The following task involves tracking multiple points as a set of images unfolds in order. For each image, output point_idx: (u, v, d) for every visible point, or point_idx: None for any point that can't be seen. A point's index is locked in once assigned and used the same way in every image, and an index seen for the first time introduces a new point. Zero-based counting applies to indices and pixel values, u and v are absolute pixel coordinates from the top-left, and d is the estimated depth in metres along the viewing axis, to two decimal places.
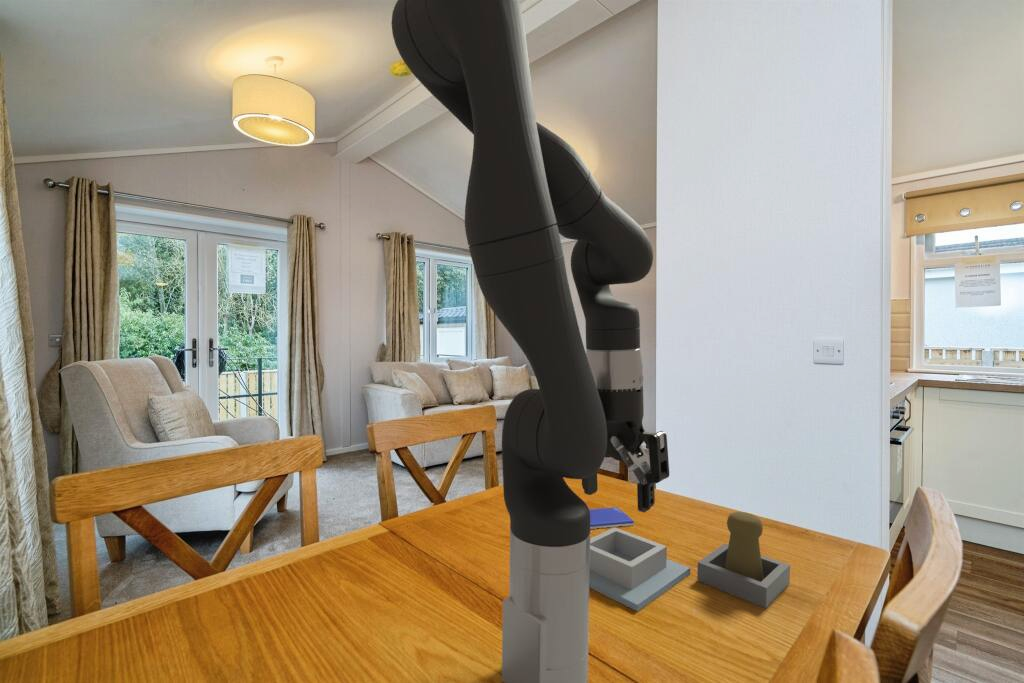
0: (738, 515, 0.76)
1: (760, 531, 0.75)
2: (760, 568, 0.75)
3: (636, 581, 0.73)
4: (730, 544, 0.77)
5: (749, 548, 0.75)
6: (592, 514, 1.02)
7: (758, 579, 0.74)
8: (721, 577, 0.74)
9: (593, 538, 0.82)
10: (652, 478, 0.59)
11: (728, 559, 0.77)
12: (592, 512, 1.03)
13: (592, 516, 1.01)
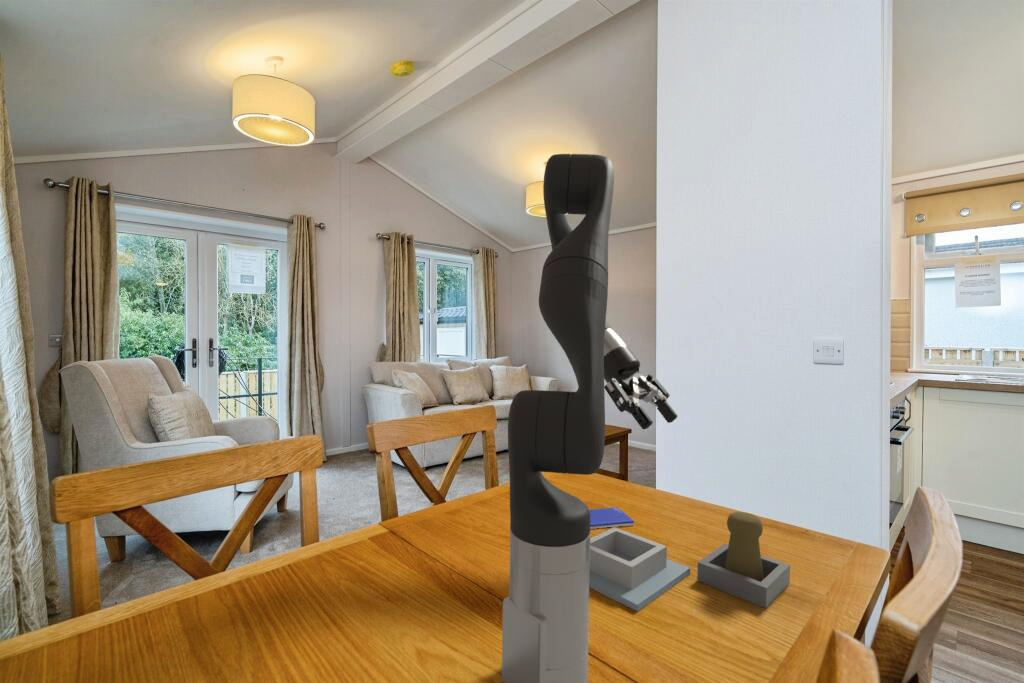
0: (738, 515, 0.76)
1: (760, 531, 0.75)
2: (760, 568, 0.75)
3: (636, 581, 0.73)
4: (730, 544, 0.77)
5: (749, 548, 0.75)
6: (593, 514, 1.02)
7: (758, 579, 0.74)
8: (721, 577, 0.74)
9: (593, 538, 0.82)
10: (666, 394, 0.93)
11: (728, 559, 0.77)
12: (592, 512, 1.03)
13: (592, 516, 1.01)
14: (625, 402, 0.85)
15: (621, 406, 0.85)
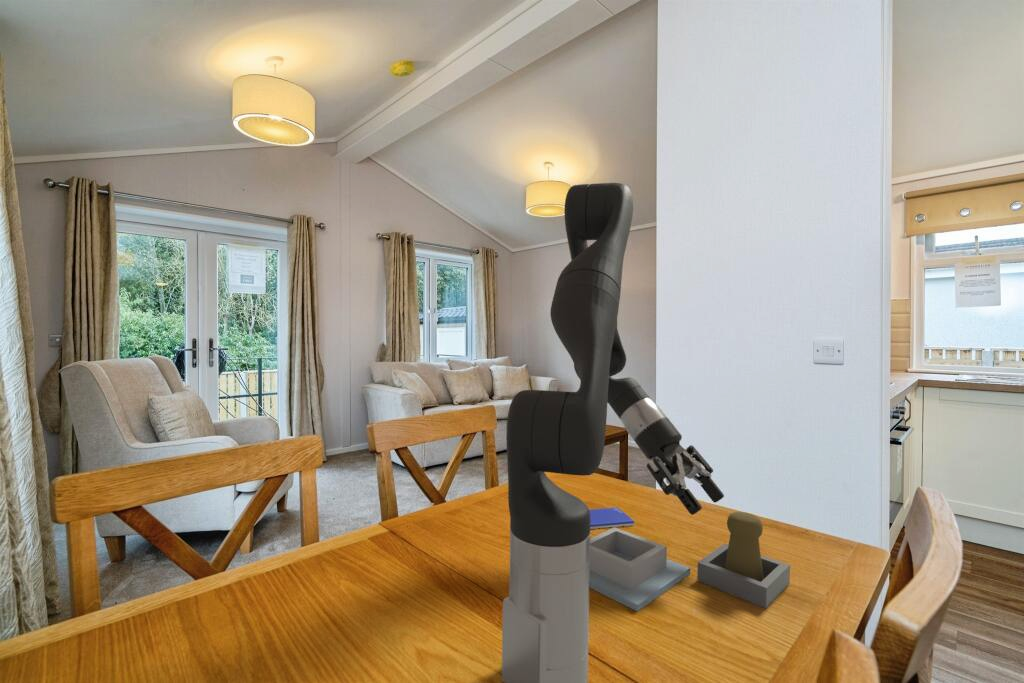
0: (738, 515, 0.76)
1: (760, 531, 0.75)
2: (760, 568, 0.75)
3: (636, 581, 0.73)
4: (730, 544, 0.77)
5: (749, 548, 0.75)
6: (593, 514, 1.02)
7: (758, 579, 0.74)
8: (721, 577, 0.74)
9: (593, 538, 0.82)
10: (710, 469, 0.87)
11: (728, 559, 0.77)
12: (592, 512, 1.03)
13: (592, 516, 1.01)
14: (672, 485, 0.78)
15: (667, 489, 0.79)
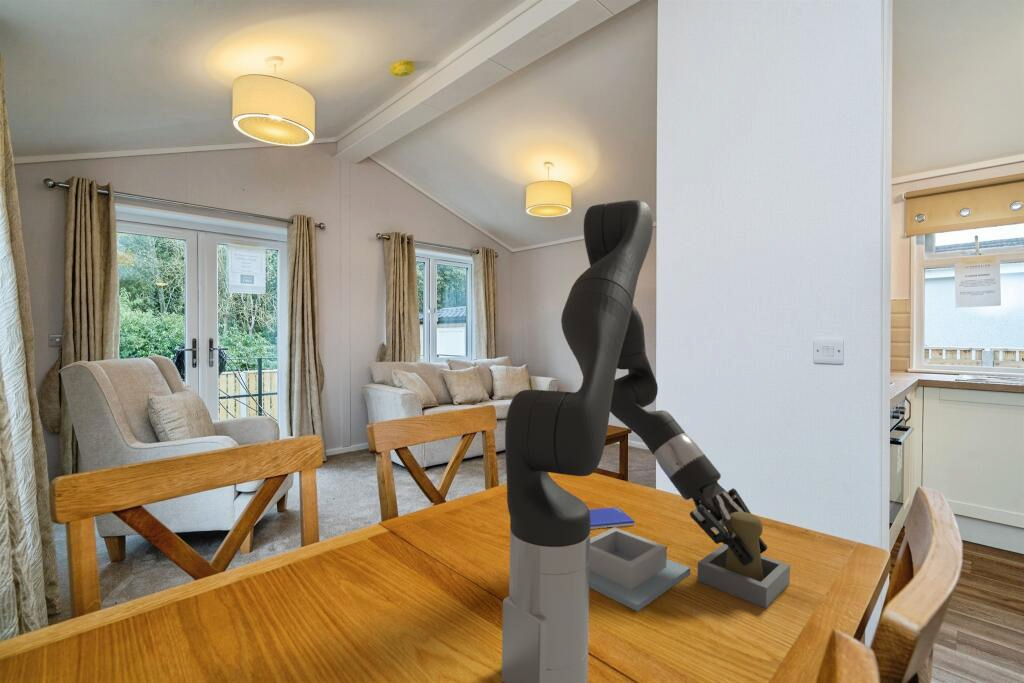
0: (738, 515, 0.76)
1: (760, 531, 0.75)
2: (760, 568, 0.75)
3: (636, 581, 0.73)
4: None
5: (749, 548, 0.75)
6: (593, 514, 1.02)
7: (758, 579, 0.74)
8: (721, 577, 0.74)
9: (593, 538, 0.82)
10: None
11: (727, 558, 0.77)
12: (592, 512, 1.03)
13: (593, 516, 1.01)
14: (723, 534, 0.74)
15: (717, 538, 0.74)
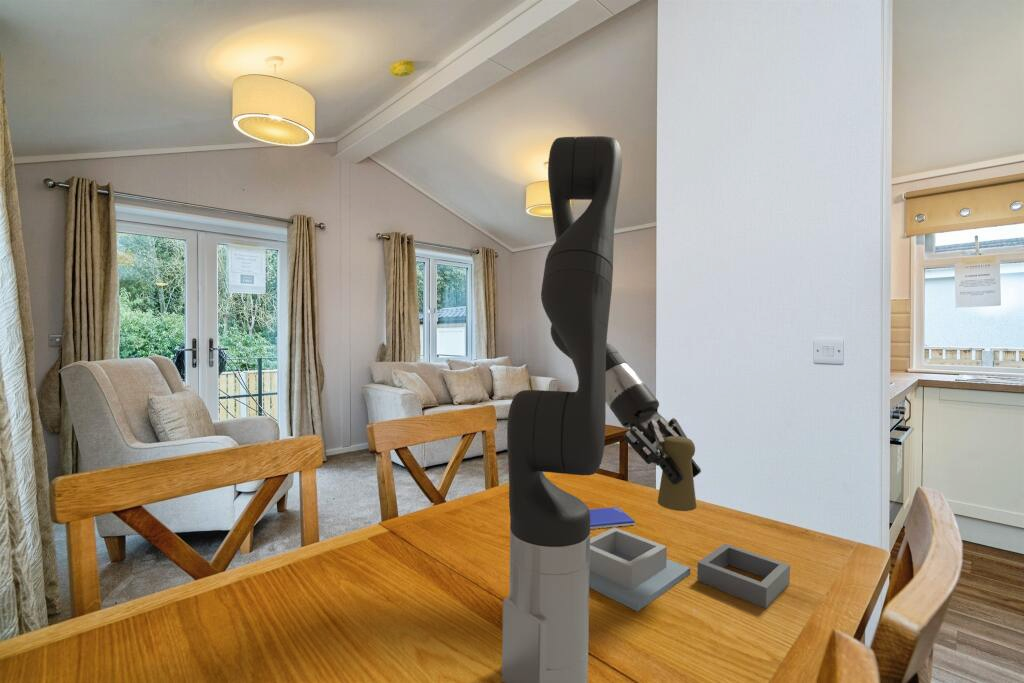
0: (671, 438, 0.77)
1: (691, 451, 0.75)
2: (691, 488, 0.76)
3: (636, 581, 0.73)
4: None
5: (680, 468, 0.76)
6: (593, 514, 1.02)
7: (689, 498, 0.75)
8: (721, 577, 0.74)
9: (593, 538, 0.82)
10: None
11: (661, 481, 0.78)
12: (593, 512, 1.03)
13: (593, 516, 1.01)
14: (653, 453, 0.75)
15: (648, 458, 0.75)
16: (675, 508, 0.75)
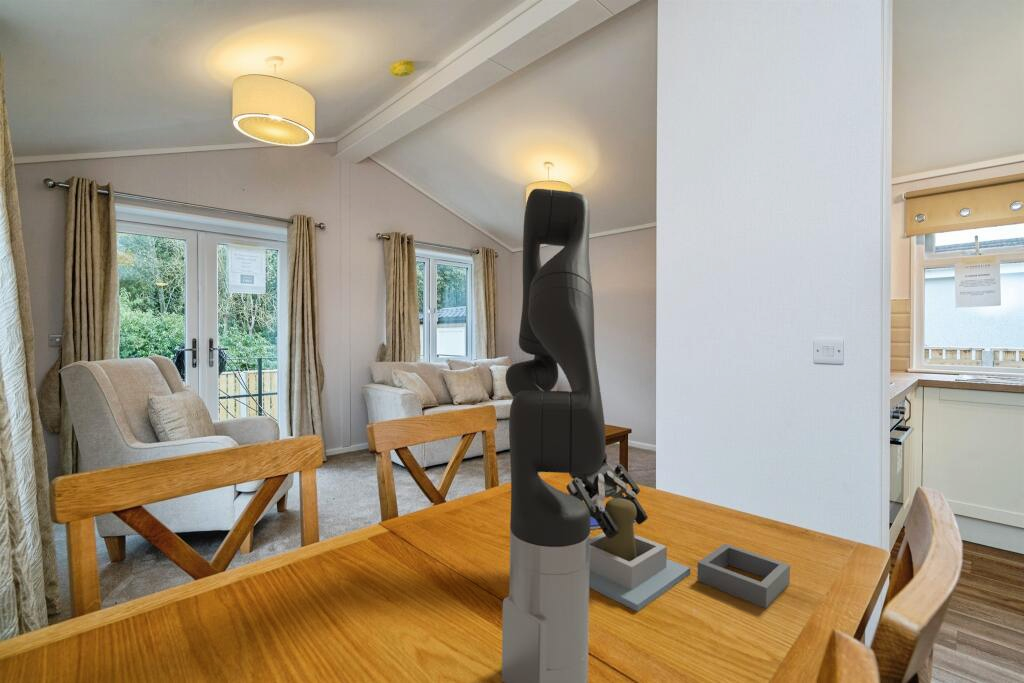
0: (614, 501, 0.79)
1: (632, 516, 0.77)
2: (632, 552, 0.78)
3: (636, 581, 0.73)
4: None
5: (621, 532, 0.77)
6: None
7: None
8: (721, 577, 0.74)
9: (593, 538, 0.82)
10: (636, 489, 0.84)
11: (604, 543, 0.80)
12: None
13: None
14: (588, 508, 0.76)
15: None
16: None
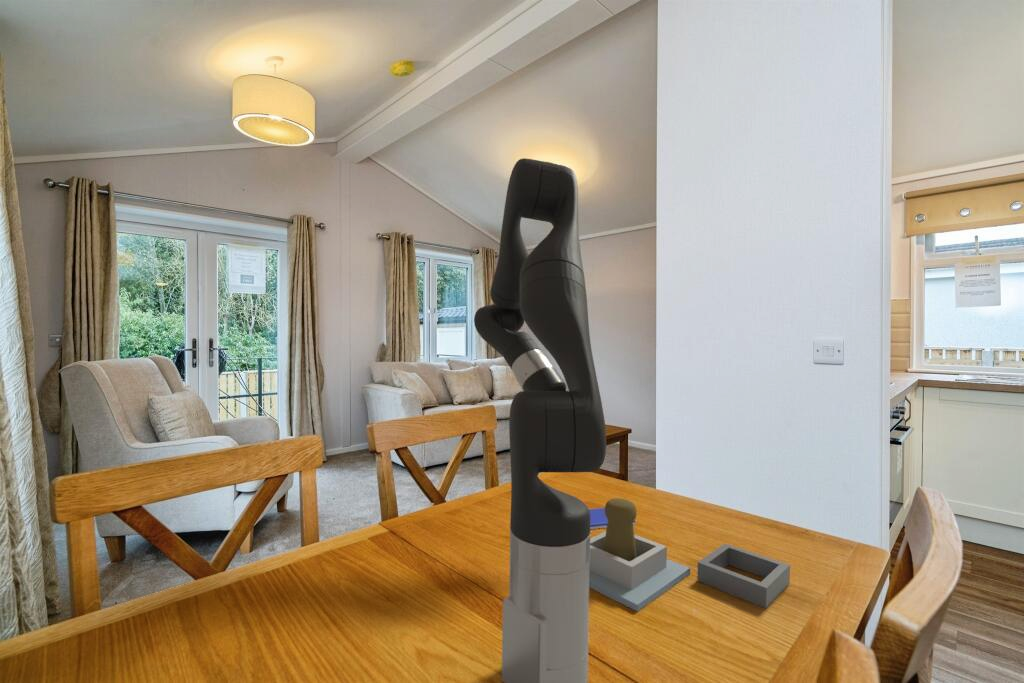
0: (613, 501, 0.79)
1: (632, 516, 0.77)
2: (632, 552, 0.78)
3: (636, 581, 0.73)
4: (607, 529, 0.80)
5: (621, 532, 0.77)
6: (594, 514, 1.02)
7: None
8: (721, 577, 0.74)
9: (593, 538, 0.82)
10: None
11: (604, 543, 0.80)
12: (593, 512, 1.03)
13: (594, 516, 1.01)
14: None
15: None
16: None
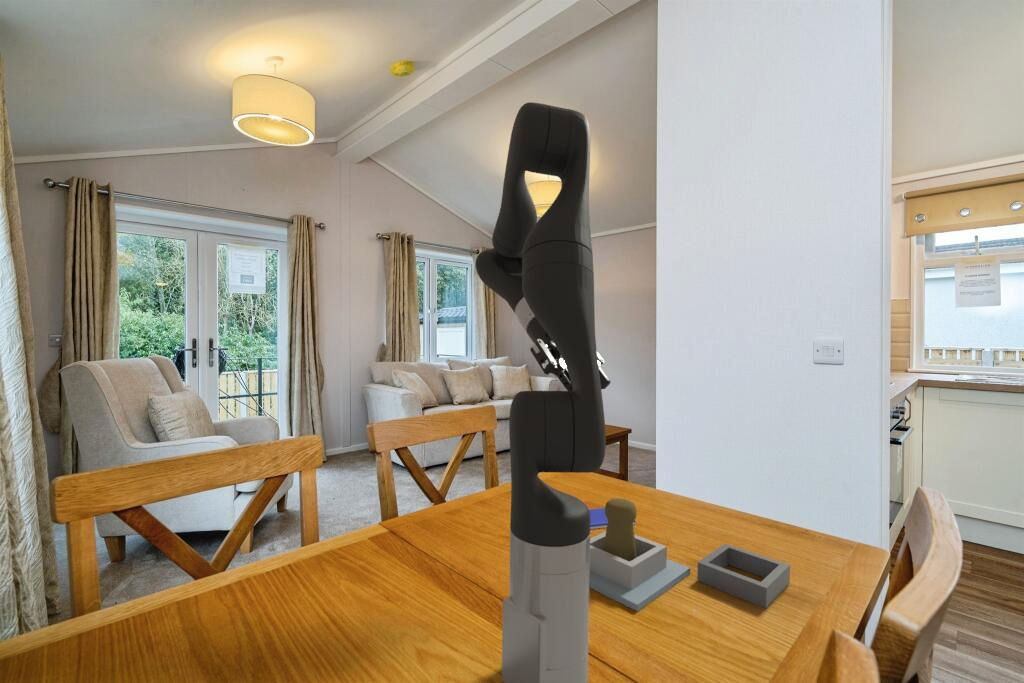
0: (613, 501, 0.79)
1: (632, 516, 0.77)
2: (632, 552, 0.78)
3: (636, 581, 0.73)
4: (607, 529, 0.80)
5: (621, 532, 0.77)
6: (594, 514, 1.02)
7: None
8: (721, 577, 0.74)
9: (593, 538, 0.82)
10: (601, 360, 0.86)
11: (604, 543, 0.80)
12: (593, 512, 1.03)
13: (594, 516, 1.01)
14: (550, 363, 0.78)
15: (546, 368, 0.78)
16: None
